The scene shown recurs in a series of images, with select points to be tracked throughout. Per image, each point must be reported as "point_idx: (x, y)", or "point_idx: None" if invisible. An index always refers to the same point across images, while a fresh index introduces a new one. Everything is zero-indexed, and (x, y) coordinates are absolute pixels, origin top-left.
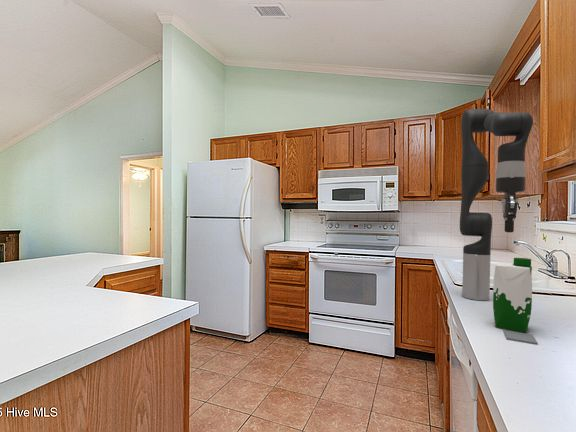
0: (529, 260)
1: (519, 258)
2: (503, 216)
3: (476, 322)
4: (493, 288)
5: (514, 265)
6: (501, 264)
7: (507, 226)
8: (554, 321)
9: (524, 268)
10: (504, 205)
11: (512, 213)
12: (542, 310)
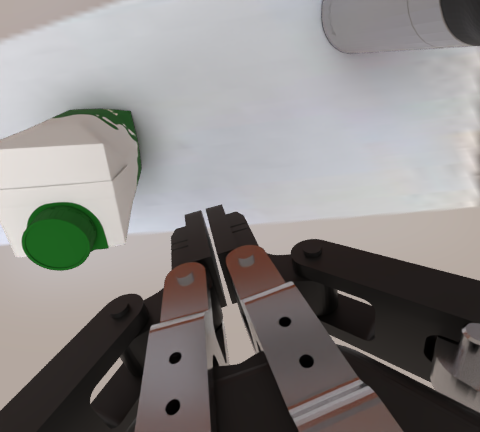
0: (47, 266)
1: (66, 234)
2: (301, 249)
3: (65, 64)
4: (49, 119)
5: (34, 212)
6: (30, 165)
7: (172, 248)
8: (233, 202)
9: (10, 244)
10: (139, 428)
11: (254, 350)
12: (314, 176)
